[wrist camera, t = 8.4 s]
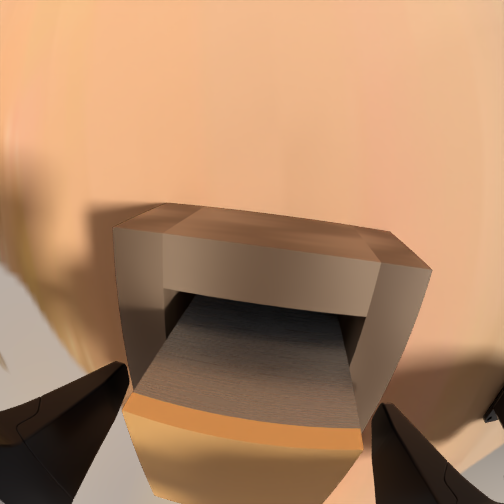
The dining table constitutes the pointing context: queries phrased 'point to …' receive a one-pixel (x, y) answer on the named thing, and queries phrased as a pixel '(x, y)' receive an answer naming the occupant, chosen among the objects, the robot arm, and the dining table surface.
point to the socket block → (270, 281)
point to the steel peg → (246, 407)
